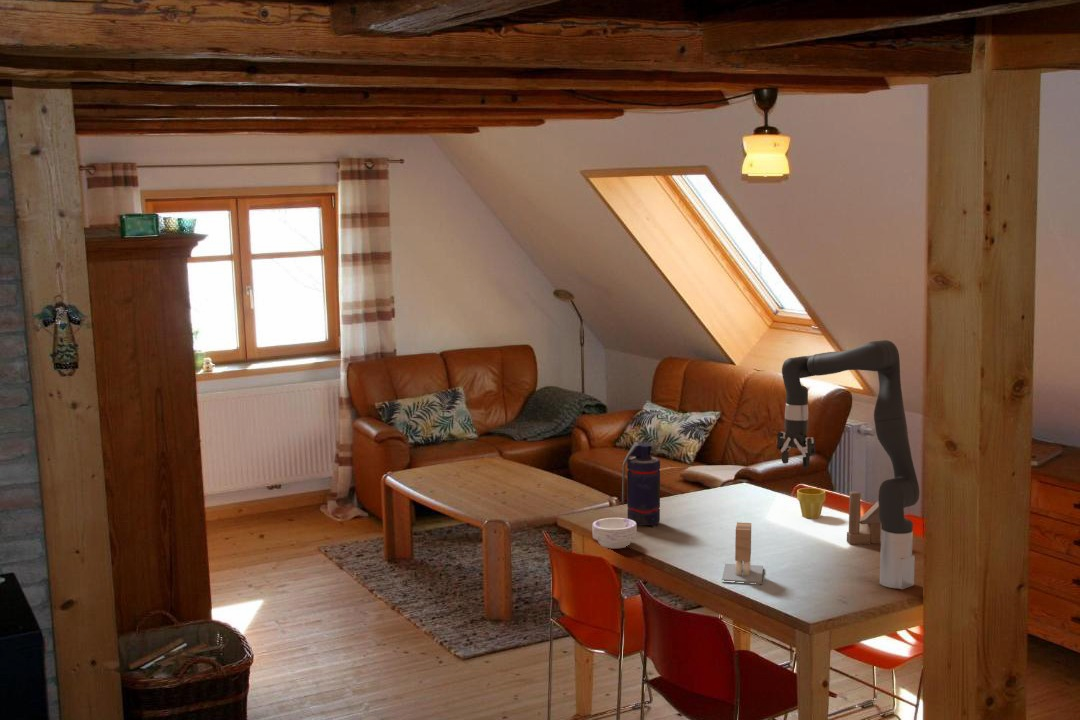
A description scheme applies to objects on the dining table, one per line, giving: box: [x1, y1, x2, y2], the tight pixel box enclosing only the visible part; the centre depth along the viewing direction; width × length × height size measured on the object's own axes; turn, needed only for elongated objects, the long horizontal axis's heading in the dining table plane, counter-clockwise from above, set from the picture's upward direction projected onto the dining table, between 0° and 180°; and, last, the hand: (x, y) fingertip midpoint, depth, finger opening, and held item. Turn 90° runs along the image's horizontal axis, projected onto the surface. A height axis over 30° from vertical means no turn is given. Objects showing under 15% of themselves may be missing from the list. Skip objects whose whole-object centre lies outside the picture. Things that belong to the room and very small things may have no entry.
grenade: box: [621, 441, 661, 527], centre depth 423 cm, size 14×12×30 cm
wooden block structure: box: [846, 490, 881, 546], centre depth 397 cm, size 4×11×18 cm, turn 95°
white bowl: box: [591, 517, 638, 550], centre depth 398 cm, size 15×15×8 cm
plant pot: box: [796, 487, 827, 519], centre depth 432 cm, size 10×10×10 cm
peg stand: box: [721, 557, 764, 585], centre depth 365 cm, size 16×12×6 cm
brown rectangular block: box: [734, 522, 752, 562], centre depth 364 cm, size 8×4×10 cm, turn 167°
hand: (795, 465), depth 383 cm, fingers open, 8 cm apart
